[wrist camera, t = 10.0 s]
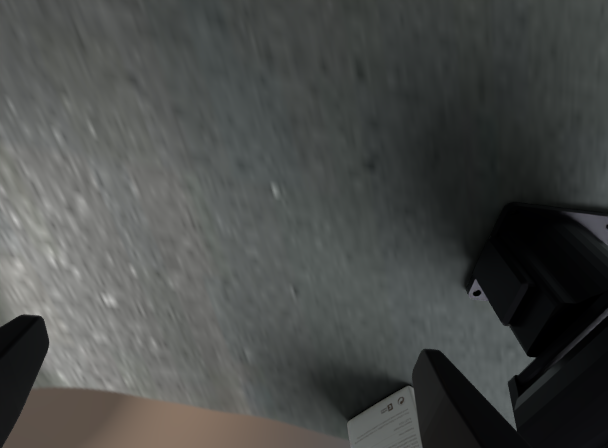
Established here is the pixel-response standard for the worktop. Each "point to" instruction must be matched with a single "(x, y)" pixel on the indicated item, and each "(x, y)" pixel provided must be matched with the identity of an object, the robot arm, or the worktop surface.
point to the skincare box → (387, 423)
